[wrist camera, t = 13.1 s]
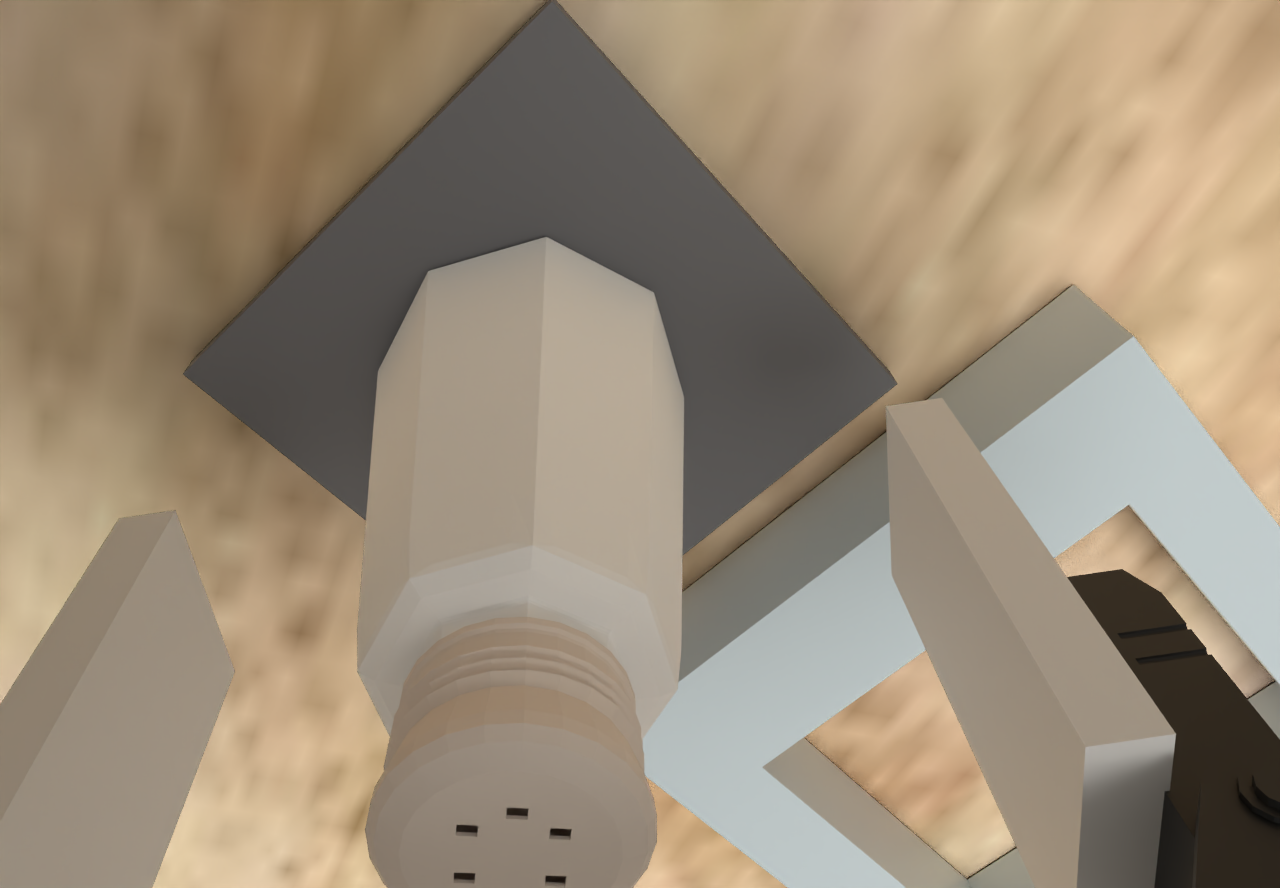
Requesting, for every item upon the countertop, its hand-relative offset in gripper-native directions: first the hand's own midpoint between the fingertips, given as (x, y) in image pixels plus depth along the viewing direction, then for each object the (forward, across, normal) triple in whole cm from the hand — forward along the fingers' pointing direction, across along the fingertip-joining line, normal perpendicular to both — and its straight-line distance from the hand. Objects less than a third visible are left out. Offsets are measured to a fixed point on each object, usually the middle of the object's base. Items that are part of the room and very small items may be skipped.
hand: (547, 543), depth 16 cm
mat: (+6, 0, 0) cm, 6 cm away
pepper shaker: (+6, 0, 0) cm, 6 cm away
